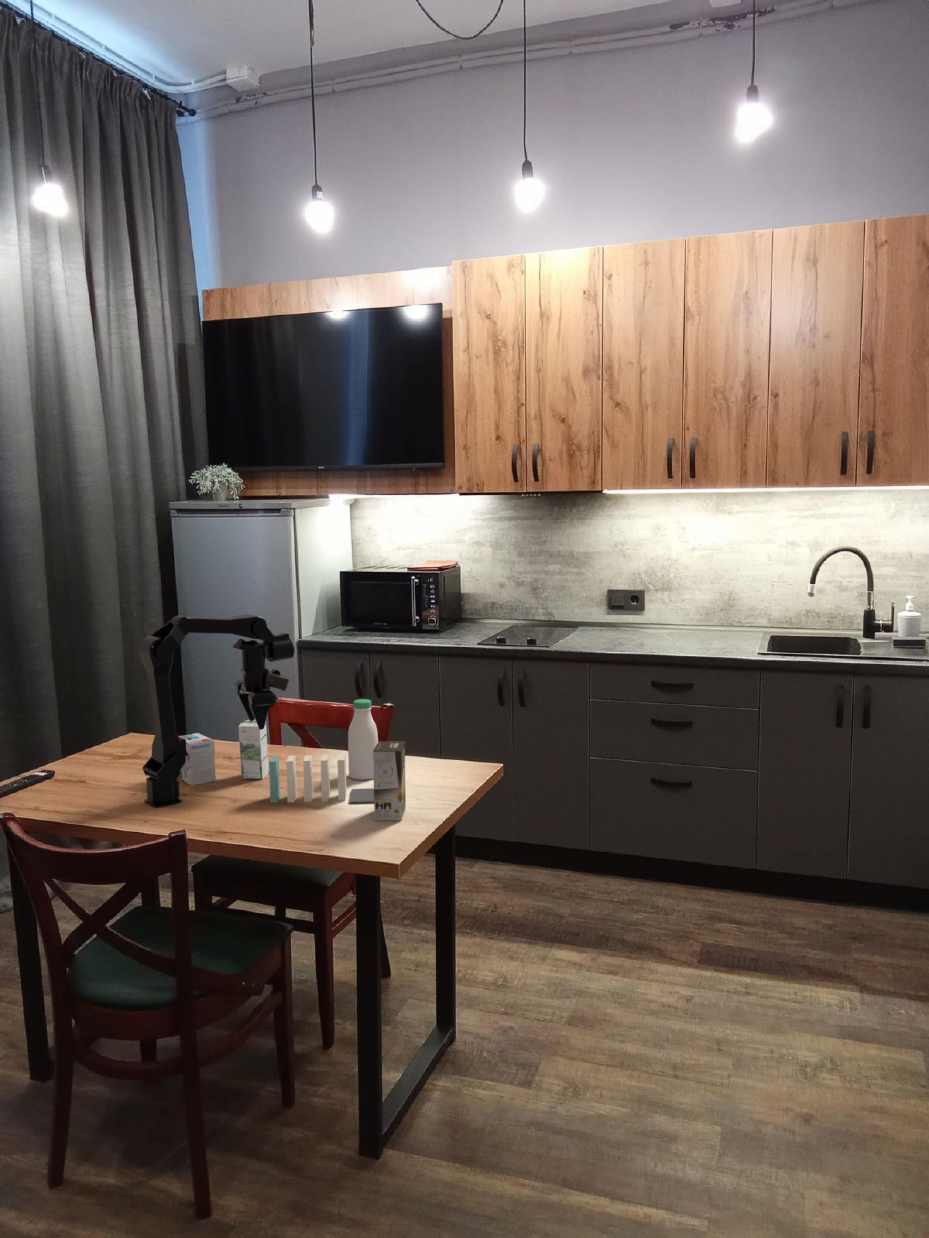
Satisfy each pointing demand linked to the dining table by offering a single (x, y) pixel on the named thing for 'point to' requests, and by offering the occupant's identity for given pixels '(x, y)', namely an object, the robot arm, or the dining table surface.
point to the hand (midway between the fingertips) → (256, 724)
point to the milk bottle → (362, 741)
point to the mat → (362, 796)
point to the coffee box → (389, 781)
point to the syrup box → (253, 750)
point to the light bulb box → (198, 760)
